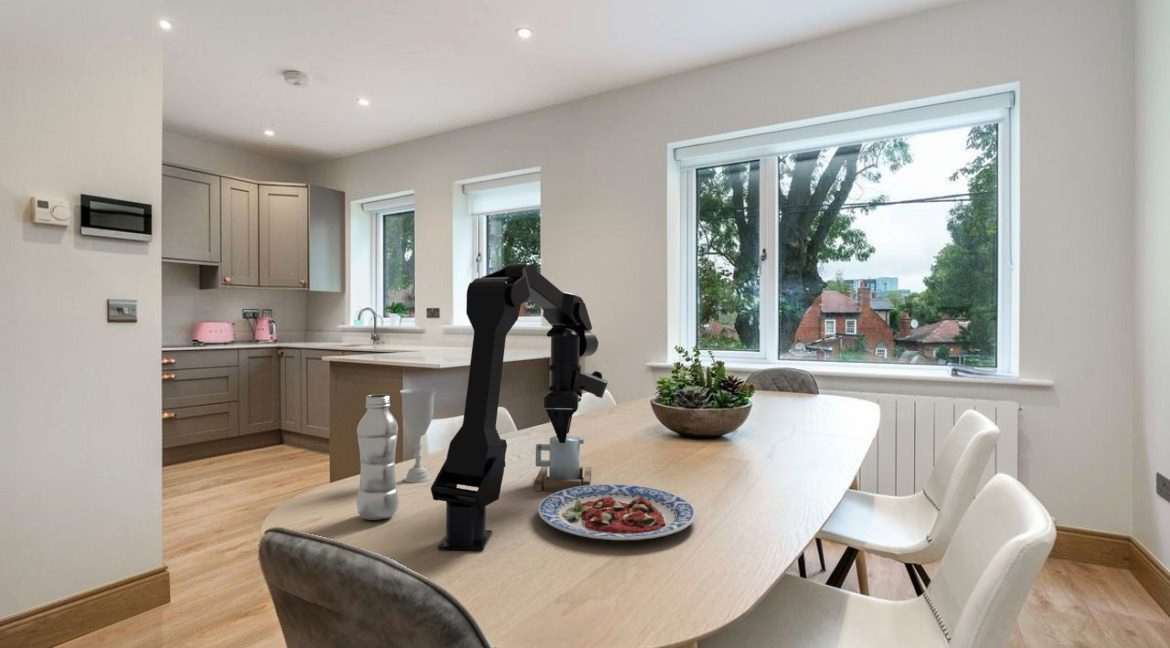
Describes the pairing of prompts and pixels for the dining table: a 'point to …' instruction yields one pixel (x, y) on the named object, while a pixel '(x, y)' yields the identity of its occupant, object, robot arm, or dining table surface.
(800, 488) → the dining table surface
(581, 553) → the dining table surface
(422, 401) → the chalice
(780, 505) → the dining table surface
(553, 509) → the ceramic plate
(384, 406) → the plastic bottle
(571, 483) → the jug holder
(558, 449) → the jug
